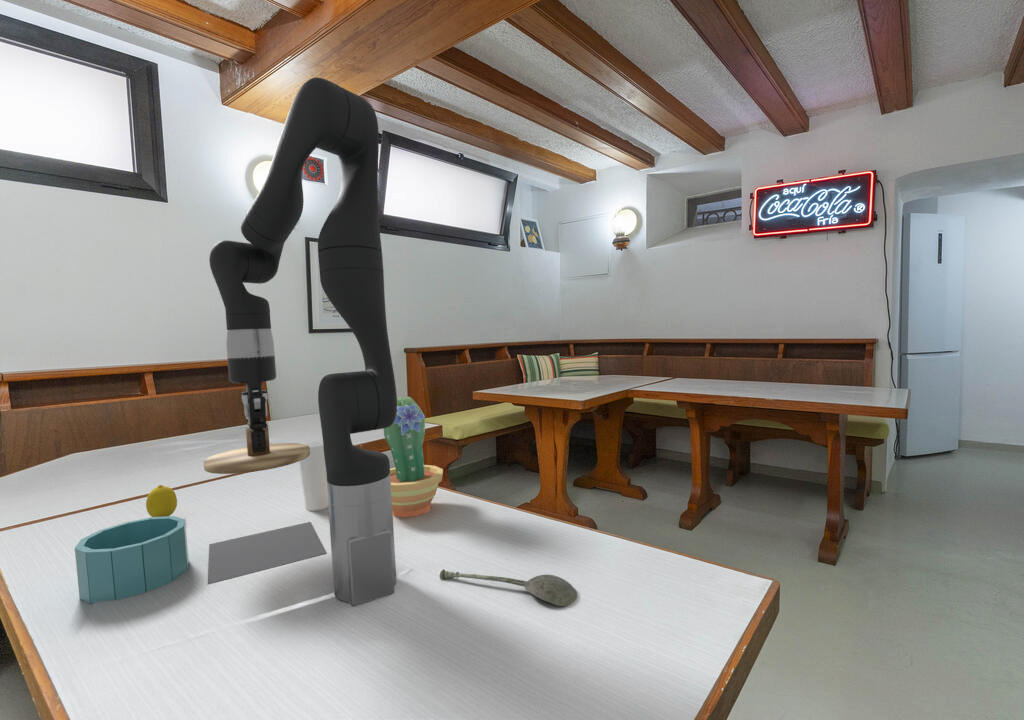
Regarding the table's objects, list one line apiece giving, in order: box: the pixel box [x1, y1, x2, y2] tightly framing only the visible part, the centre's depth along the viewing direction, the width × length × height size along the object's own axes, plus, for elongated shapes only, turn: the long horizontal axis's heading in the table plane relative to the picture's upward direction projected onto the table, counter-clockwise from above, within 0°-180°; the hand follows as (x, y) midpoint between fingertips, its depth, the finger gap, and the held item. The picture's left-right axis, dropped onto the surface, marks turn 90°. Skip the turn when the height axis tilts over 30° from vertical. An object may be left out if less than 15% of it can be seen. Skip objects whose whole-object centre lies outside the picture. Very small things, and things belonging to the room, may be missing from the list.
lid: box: [203, 424, 310, 475], centre depth 88 cm, size 17×17×6 cm
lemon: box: [145, 484, 178, 518], centre depth 107 cm, size 6×6×8 cm
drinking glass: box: [298, 439, 329, 512], centre depth 111 cm, size 7×7×15 cm
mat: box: [206, 521, 328, 585], centre depth 89 cm, size 18×18×1 cm
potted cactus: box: [383, 396, 444, 518], centre depth 107 cm, size 15×15×25 cm
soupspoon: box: [439, 569, 578, 608], centre depth 73 cm, size 22×3×7 cm
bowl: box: [74, 515, 190, 605], centre depth 80 cm, size 14×14×8 cm
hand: (258, 449), depth 88 cm, fingers closed on lid, 3 cm apart
